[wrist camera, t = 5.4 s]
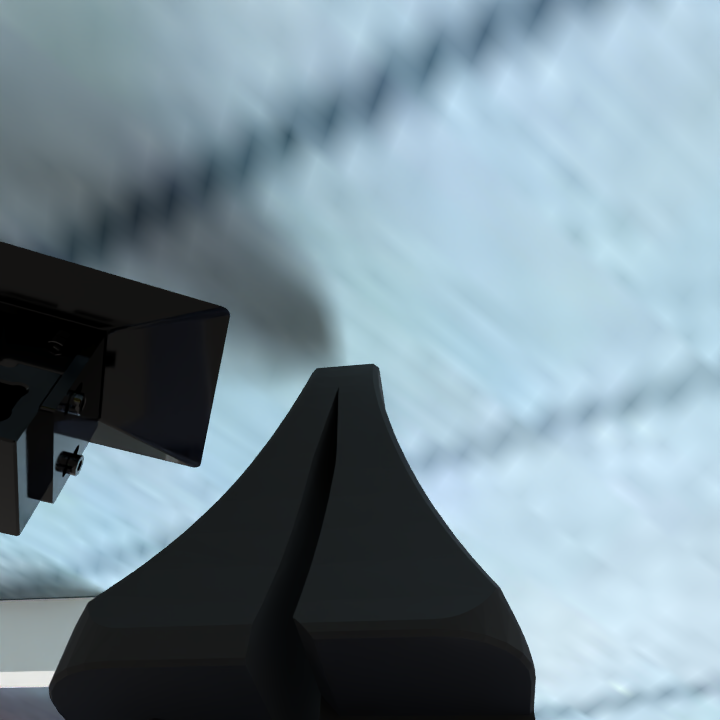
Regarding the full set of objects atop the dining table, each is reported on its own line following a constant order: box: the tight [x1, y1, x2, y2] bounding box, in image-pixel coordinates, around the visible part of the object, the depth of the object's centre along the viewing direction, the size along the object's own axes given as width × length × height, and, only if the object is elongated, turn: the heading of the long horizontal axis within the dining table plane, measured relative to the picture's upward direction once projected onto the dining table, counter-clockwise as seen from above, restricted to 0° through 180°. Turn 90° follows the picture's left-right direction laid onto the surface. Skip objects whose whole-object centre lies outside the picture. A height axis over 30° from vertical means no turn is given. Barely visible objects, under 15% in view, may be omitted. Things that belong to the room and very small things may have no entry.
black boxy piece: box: [0, 242, 230, 536], centre depth 13 cm, size 12×7×5 cm, turn 72°
